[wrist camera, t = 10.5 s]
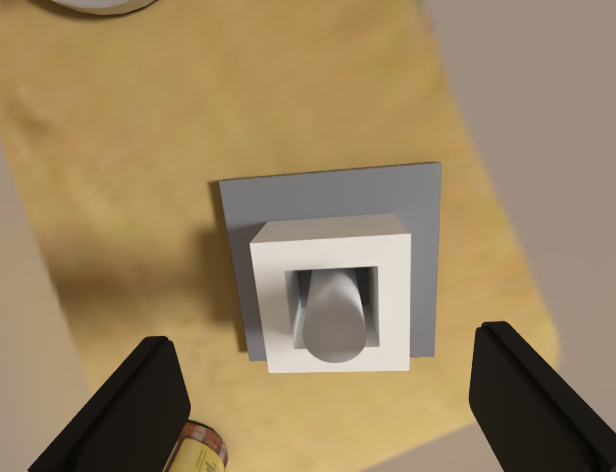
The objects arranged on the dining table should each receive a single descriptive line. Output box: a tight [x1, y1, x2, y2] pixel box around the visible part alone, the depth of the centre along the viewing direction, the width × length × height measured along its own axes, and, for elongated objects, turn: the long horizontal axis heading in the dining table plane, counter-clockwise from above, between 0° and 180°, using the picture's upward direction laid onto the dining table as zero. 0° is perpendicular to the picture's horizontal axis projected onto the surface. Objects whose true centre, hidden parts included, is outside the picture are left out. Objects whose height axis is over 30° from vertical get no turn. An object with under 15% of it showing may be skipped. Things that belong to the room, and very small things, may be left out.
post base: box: [219, 162, 442, 363], centre depth 15 cm, size 12×12×7 cm
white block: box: [250, 213, 411, 373], centre depth 16 cm, size 7×7×4 cm
